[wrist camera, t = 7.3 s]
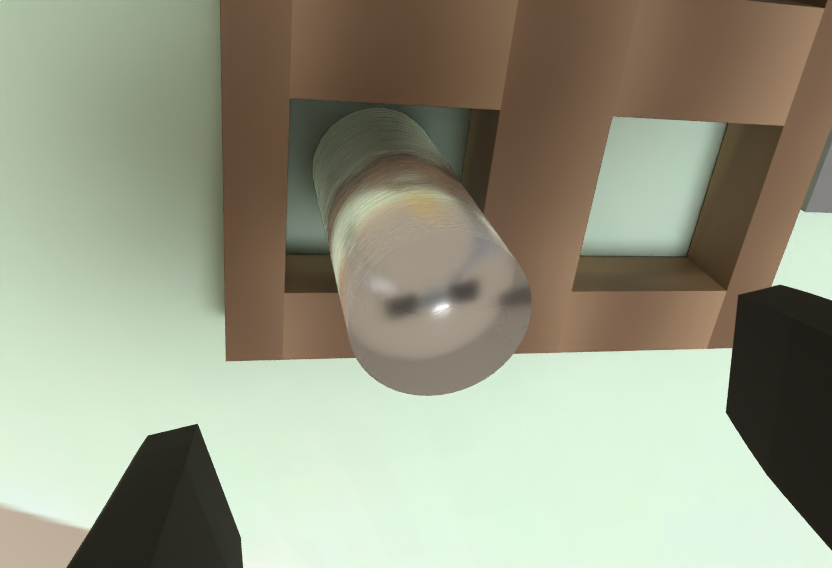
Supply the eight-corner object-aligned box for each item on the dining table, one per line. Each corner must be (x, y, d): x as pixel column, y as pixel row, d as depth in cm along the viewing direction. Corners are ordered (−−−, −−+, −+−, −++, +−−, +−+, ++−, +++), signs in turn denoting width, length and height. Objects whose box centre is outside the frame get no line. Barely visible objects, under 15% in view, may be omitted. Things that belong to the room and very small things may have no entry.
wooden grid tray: (921, -319, 15) (1376, -453, 9) (708, 311, 22) (883, 473, 16) (215, -484, 12) (188, -864, 6) (227, 317, 19) (219, 523, 13)
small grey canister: (427, 96, 17) (526, 215, 11) (442, 212, 19) (536, 372, 13) (300, 121, 17) (330, 257, 11) (326, 237, 18) (365, 413, 12)
